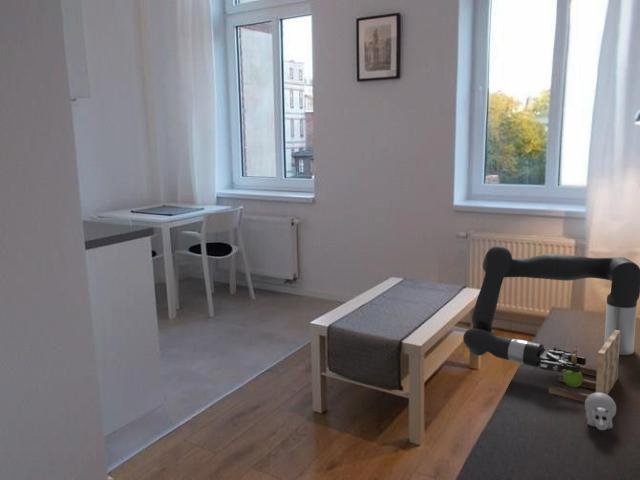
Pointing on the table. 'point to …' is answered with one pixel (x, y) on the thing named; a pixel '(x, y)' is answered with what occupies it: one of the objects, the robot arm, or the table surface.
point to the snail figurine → (573, 373)
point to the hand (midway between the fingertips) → (582, 365)
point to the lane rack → (597, 371)
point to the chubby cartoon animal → (600, 410)
